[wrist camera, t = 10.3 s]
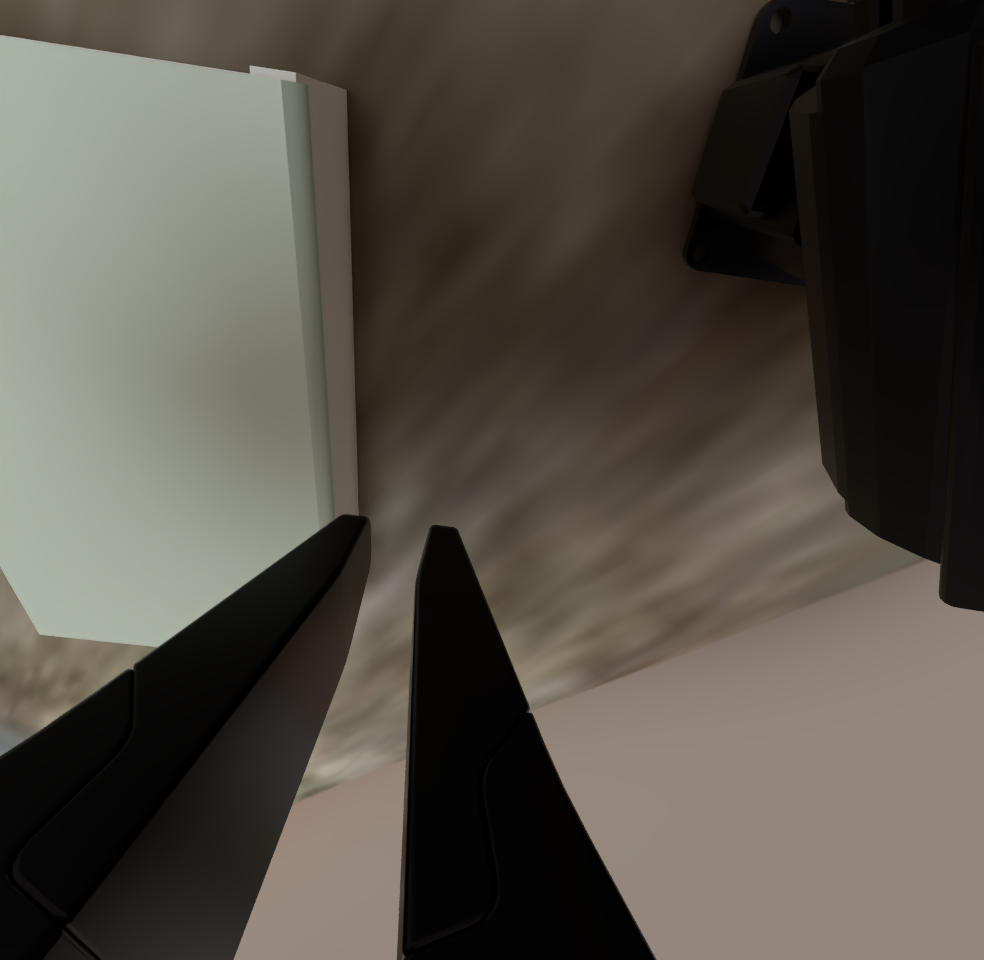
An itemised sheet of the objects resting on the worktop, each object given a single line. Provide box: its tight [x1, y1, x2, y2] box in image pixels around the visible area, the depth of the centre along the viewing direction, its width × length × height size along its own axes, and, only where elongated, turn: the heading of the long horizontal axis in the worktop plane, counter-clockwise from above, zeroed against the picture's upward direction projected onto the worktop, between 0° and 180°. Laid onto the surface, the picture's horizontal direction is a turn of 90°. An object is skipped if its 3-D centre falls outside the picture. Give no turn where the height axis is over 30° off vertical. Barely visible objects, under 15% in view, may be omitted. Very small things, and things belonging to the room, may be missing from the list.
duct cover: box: [0, 36, 335, 647], centre depth 16 cm, size 12×20×1 cm, turn 173°
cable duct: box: [0, 35, 359, 519], centre depth 18 cm, size 12×20×4 cm, turn 173°
